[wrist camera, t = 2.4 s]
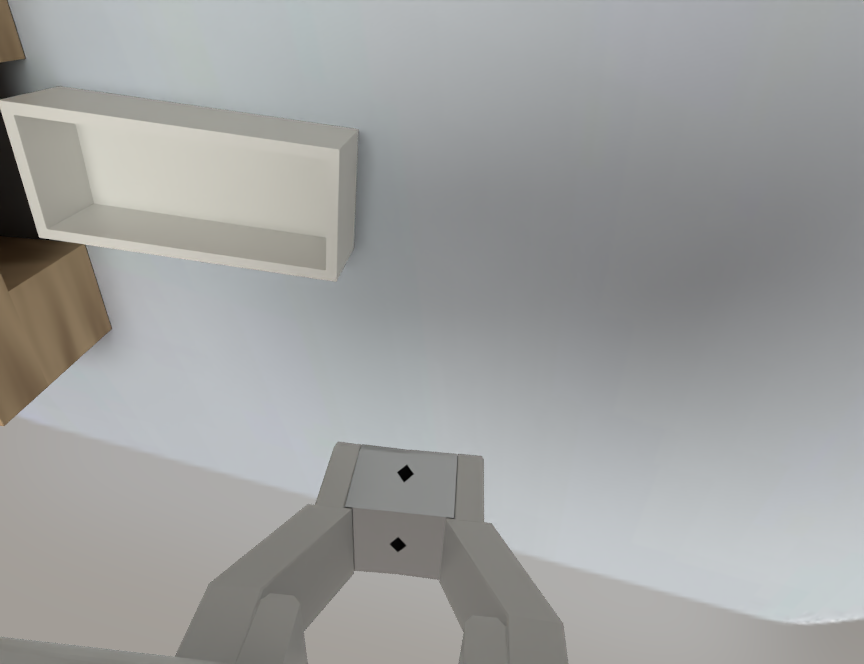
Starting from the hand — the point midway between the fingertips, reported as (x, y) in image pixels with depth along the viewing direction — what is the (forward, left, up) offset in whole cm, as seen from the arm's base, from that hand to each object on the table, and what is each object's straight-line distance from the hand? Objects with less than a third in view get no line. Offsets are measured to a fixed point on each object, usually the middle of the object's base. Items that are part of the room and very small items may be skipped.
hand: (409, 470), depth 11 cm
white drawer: (+12, 0, -18) cm, 21 cm away
